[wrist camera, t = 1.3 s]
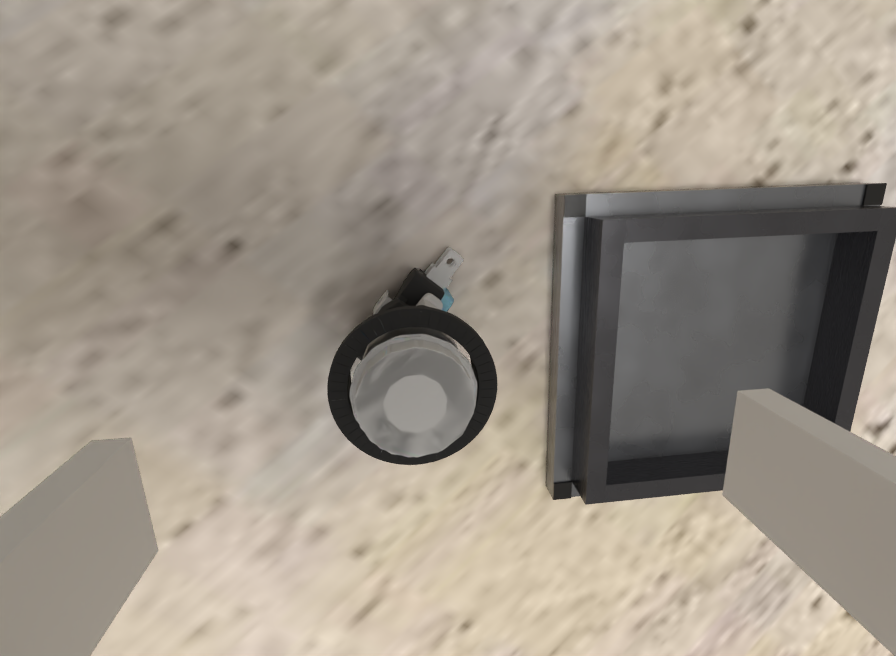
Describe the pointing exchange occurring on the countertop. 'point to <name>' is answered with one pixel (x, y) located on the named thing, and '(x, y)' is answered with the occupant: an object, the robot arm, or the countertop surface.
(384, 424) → the push button
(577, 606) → the countertop surface
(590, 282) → the grey metal square tray
